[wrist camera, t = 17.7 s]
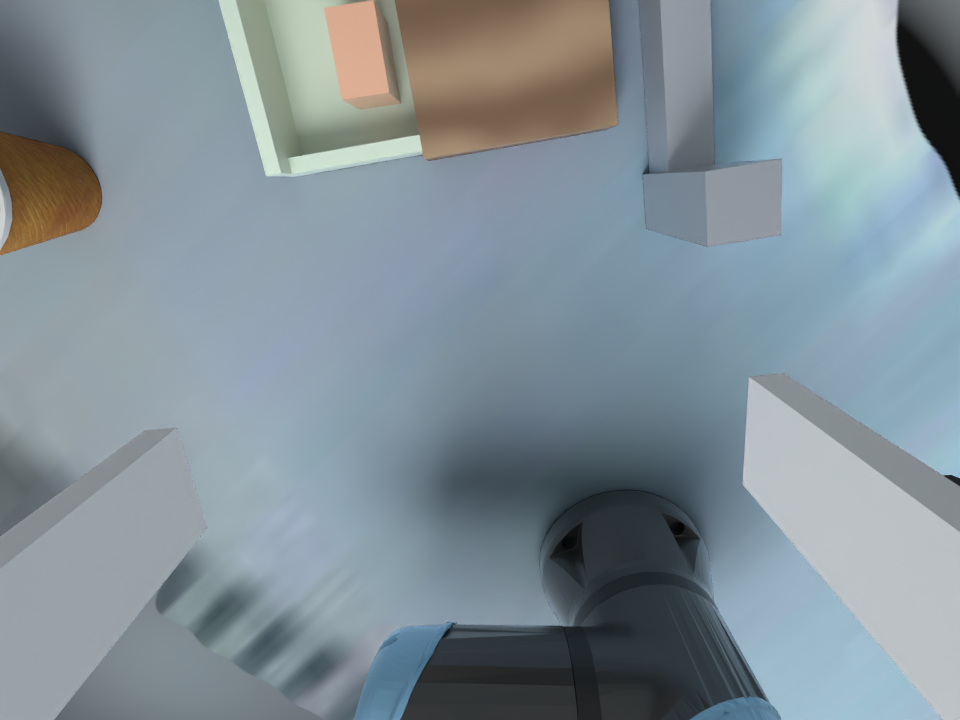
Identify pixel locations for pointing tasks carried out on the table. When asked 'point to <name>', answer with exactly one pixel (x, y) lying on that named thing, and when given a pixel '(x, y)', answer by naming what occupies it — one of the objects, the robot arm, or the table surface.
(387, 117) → the tray
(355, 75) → the tile
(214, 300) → the table surface
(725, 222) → the scraper
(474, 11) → the brown wooden board
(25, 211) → the disposable coffee cup
